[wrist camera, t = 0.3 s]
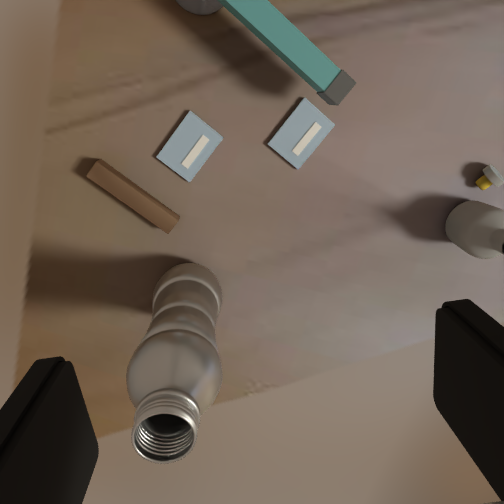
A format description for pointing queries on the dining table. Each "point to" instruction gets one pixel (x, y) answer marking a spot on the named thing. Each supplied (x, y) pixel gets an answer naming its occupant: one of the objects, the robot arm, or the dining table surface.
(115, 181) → the sill
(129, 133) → the dining table surface
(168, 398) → the plastic bottle
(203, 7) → the pivot plate
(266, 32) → the boom bar
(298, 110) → the label cards
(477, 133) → the dining table surface
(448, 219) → the reed diffuser
